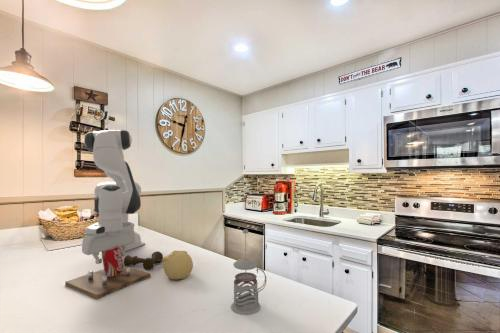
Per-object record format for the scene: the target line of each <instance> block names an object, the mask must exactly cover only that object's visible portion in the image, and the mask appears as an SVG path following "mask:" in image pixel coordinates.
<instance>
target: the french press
mask: <svg viewBox="0 0 500 333" xmlns="http://www.w3.org/2000/svg"><path fill="white" fill-rule="evenodd" d="M242 234H245V236H244V238H245V239H244V240H245V244H244V245H245V248H244V251H245V255H244V256H245V257H244V258H239V259H237V260H236V261H235V262H233V264H232V265H233V267H234V269H237V270H241V271H245V272H239V273H237V274H235V276H234V278H235V279H234V280H233V303H232V304H231V305H230V309H231V311H232V312H233V313H234V314H237V315H240V316H249V315H254V314H256V313H258V312H259V311H260V310H261V303H259V292H261V291H263V290H264V289H265V287H266V285H267V275H266V273H265V271H264V269H263V268H261V267H260V266H258V262H257V261H256V260H255V259H252V258H247V234H249V230H248V229H247V228H244V229H243V230H242ZM253 269H256V273H259V271H261V272H262V273H263V275H264V281H263V284H262V285H261V286H260V287H258V280H257V275H256V274H255V273H253V272H247V271H249V270H250V271H251V270H253ZM247 284H248V285H247Z"/></svg>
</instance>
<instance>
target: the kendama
mask: <svg viewBox="0 0 500 333" xmlns="http://www.w3.org/2000/svg"><path fill="white" fill-rule="evenodd" d="M163 257H164V256H163V253H162V252H160V251H154V252H153V253H152V254H151V257H146V258H142V257H139V256H138V255H134V256H131V255H130V254H127V255H125V256H124V258H123V266H127V267H129V266H131V265H132V266H136V265H139V264H142V268H143V269H144V270H145V271H151V270H153V269H154V267H155V265H156V264H158V263H159V264H162V263H163V262H162V259H163ZM159 264H158V265H159Z"/></svg>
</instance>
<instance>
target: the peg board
mask: <svg viewBox="0 0 500 333" xmlns="http://www.w3.org/2000/svg"><path fill="white" fill-rule="evenodd" d="M123 267H124V270H123V271H122V272H121V273H120V274H119V275H117V276H114V277H109V276H106V275H105V272H104V268H103V269H99V270H97V271H94V270H90V271H88V274H85V275H82V276H79V277H76V278H72V279H68V280H66V281H65V283H64V284H65V285H64V286H65V287H68V288H70V289H72V290H74V291H77V292H79V293H82V294H84V295H85V296H88V297H89V298H90V297H91V298H92V299H95V300H99V299H101V298H103V297H107V296H109V295H111V294H113V293H115V292H118V291H120V290H122V289H125V288H128V287H130V286H133V285H135V284H137V283H139V282H142V281H144V280H147V279H149V278H151V272H147V271H143V270H140V269H137V268H133V267H130V266H124V265H123Z"/></svg>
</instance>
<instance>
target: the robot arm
mask: <svg viewBox="0 0 500 333" xmlns="http://www.w3.org/2000/svg"><path fill="white" fill-rule="evenodd" d="M132 143H133V138H132V136H131V134H130V132H129V131H128V130H125V129H121V130H119V129H108V130H99V131H89V132H87V133H85V135H84V138H83V144H84V147H85V149H87V150H88V151H89V152H92V156H93V162H94V164H95V165H96V167H98V169H100V170H102V171H104V172H103V173H104V175H105V176H107V177H108V178H110V179H112V181H106V182H100V183H98V184H96V185H95V187H94V191H93V193H94V196H95V197H94V198H93V201H94V202H93V203H94V204H93V205H94V207H93V208H94V209H93V212H94V213H95V214H97V215H98V219H97V220H98V221H97V222H95V223H93V224H91V225H88V226H86V227H85V228H84V233H85V235H84V236H83V238H82V242H81V244H82V245H81V253H82V254H84V255H86V256H90V255H92V256H93V259H94V260H95V264H96V265H98V264H103V261H102V257H99V256H100V253H102V251H106V250H107V249H111V248H114V247H115V246H119V247H120V248H121V253H122V257H125V252H126V251H130V250H133V249H135V248H138V247H141V246H143V245H145V244H146V242H145V241H143V240H141V238H142V237H141V235H140V233H138V232H137V231H135V230H134V229H135V223H133V222H130V221H129V215H130V214H131V215H133V214H135V213H136V212H138V211H139V210H140V209H141V204H142V201H141V194H142V188H141V186H140V184H139V183H138V182H136V181H135V180H134V176H133V173H132V170H131V167H130V165H129V162H127V161H125V157H124V156H125V155H124V151H126V150H128V149H129V148H130V147H131V145H132Z"/></svg>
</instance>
